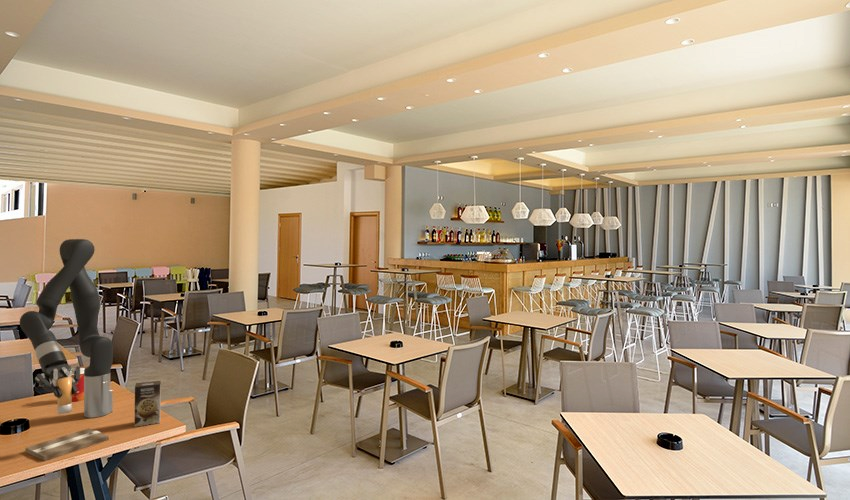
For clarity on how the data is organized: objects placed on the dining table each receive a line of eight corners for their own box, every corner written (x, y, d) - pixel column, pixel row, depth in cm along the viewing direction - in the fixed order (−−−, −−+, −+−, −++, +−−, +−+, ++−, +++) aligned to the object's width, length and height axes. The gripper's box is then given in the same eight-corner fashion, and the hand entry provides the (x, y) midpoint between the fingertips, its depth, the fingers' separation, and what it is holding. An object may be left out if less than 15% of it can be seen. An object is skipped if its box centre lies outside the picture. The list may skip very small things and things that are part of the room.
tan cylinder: (68, 409, 172) (68, 376, 172) (73, 411, 170) (73, 378, 170) (55, 412, 169) (55, 379, 168) (60, 414, 167) (61, 380, 166)
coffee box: (134, 427, 188) (133, 386, 187) (135, 421, 193) (135, 382, 193) (160, 423, 192) (160, 383, 192) (160, 418, 198) (160, 379, 197)
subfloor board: (88, 432, 183) (88, 427, 183) (108, 439, 176) (108, 434, 176) (25, 451, 165) (25, 446, 165) (44, 461, 158) (44, 455, 158)
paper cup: (62, 401, 218) (62, 371, 217) (80, 396, 225) (79, 367, 225) (73, 403, 215) (73, 372, 214) (90, 398, 222) (90, 368, 222)
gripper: (30, 354, 167) (47, 394, 161) (76, 346, 179) (93, 383, 173) (23, 367, 169) (40, 406, 163) (69, 359, 182) (85, 395, 176)
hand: (67, 394), depth 168 cm, fingers closed on tan cylinder, 4 cm apart
